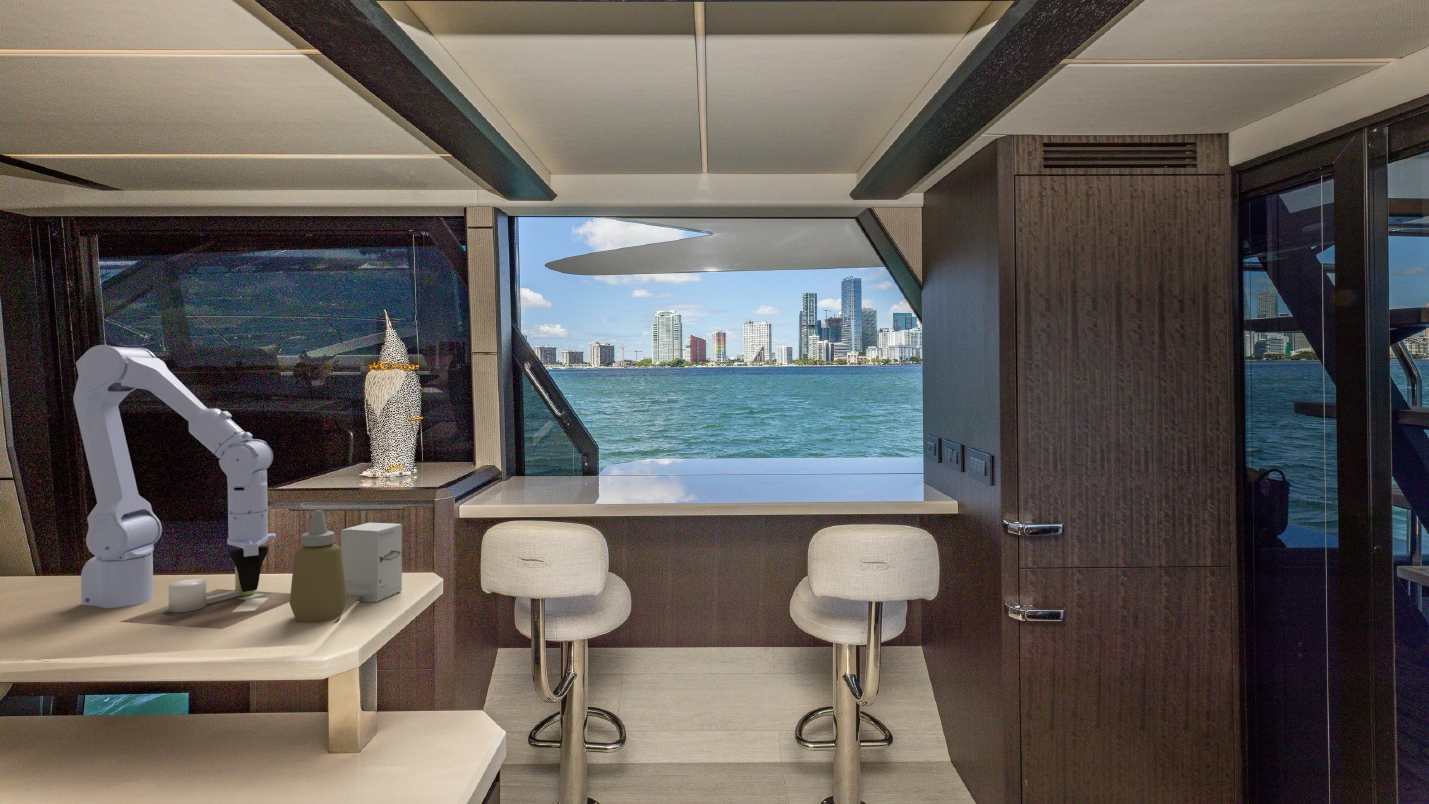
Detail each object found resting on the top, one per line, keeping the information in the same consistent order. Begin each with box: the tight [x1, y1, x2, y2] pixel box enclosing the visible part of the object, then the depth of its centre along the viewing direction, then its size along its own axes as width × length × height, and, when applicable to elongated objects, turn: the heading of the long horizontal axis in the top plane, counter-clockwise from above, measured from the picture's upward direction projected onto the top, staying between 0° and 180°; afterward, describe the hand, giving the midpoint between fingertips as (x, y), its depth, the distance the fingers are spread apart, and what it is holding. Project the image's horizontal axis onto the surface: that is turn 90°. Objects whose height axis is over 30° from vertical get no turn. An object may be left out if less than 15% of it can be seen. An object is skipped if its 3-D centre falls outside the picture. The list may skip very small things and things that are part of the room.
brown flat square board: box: [119, 588, 291, 630], centre depth 120 cm, size 18×18×1 cm
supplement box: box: [340, 522, 403, 603], centre depth 131 cm, size 7×7×13 cm
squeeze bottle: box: [288, 509, 348, 625], centre depth 116 cm, size 8×8×18 cm
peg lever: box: [168, 565, 256, 612], centre depth 122 cm, size 13×5×5 cm, turn 153°
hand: (249, 590), depth 125 cm, fingers closed
